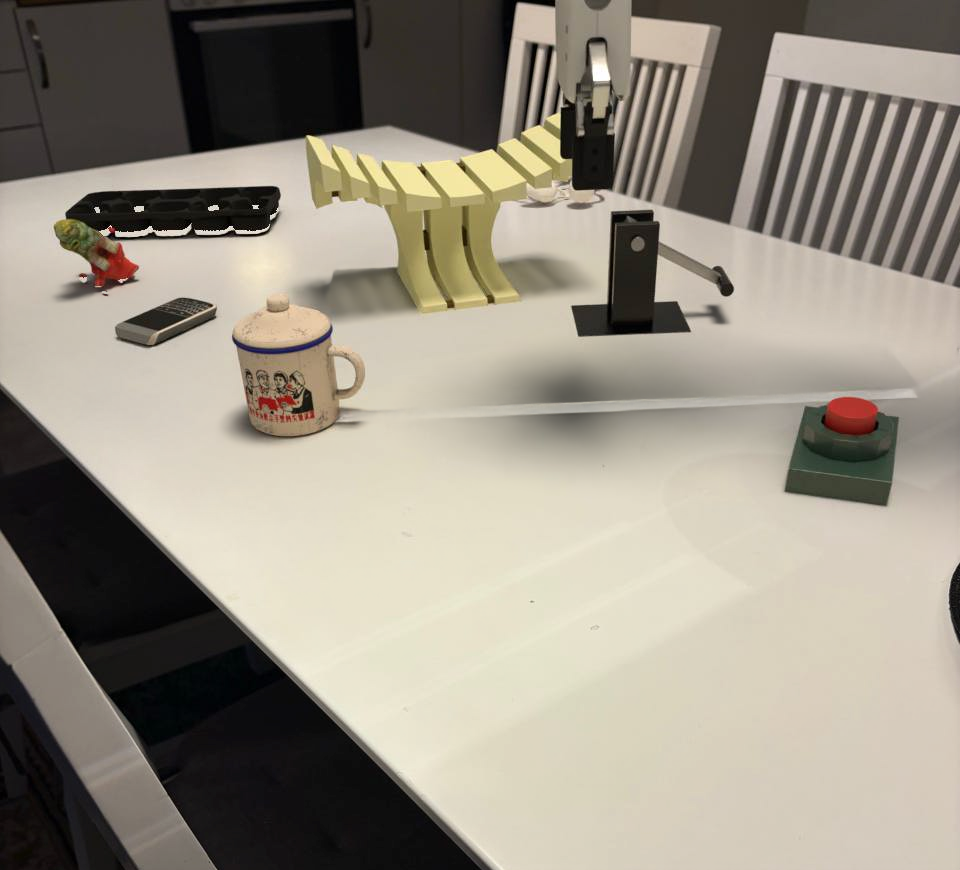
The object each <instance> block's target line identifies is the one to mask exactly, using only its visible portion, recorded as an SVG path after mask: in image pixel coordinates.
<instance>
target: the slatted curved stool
mask: <svg viewBox="0 0 960 870" xmlns="http://www.w3.org/2000/svg"><path fill="white" fill-rule="evenodd" d="M560 117H561V111H560V112H557V113H554V114H552V115H550V116H548V117H546V118H544V122H543V125H542V126H541V125H540V124H538V125H535V126H533V127H531V128H528V129H527V130H524V131H521V133H520V139H519V140H518V139H517V138H511V139H509V140H506V141H504V142H501V143H499V144H498V145H497V152H496V151H495V150H494V149H493V148H491V149H487V150H484V151H481V152H477V153H474V154H471V155H465V156H461V157H459V162H455V161H454V159H446V160H437V161H423V162H420V166H417V165H416V164H415V163H414V162H412V161H411V162H410V161H397V160H396V161H394V160H386V159H382V160H381V165H379V163H378V162H377V160H376V159H375V157H374V156H371V155H366V154H363V153H356V160H355V158H354V157H353V156H352V155H353V154H352V153H351V152H350V151H349V149H347V148H344V147H341V146H337V145H334V144H331V153H330V151H329V149H328V147H327V146H326V144H325V142H324V140H323V139H321V138H318V137H315V136H313V135H305V152H306V153H305V154H306V161H307V169H308V170H307V171H308V178H309V185H310V186H309V187H310V192H311V193H310V194H311V200H312V202H313V204H314V206H315V209H316V210H318V209H320V208H322V207H325V206H329V205H332V204H333V198H338V199H339V201H340V203H345V202H356V201H358V199H364V201H365V203H367V204H372V205H375V206H378V207H379V208H381V209H383V206H384V210H385V212H386V214H387V216H388V219H389V221H390V224H391V226H392V229H393V231H394V235H395V239H396V243H397V253H398V256H397V257H398V260H397V268H396V273H397V274H398V276H399V277H400V280H401V281H402V283H403V285H404V287H405V288H406V290H407V292H408V293H409V295H410V297H411V299H412V301H413V302H414V305H415V306H416V308H417V309H418V311H419V313H420V315H423V314H432V313H440V312H447V311H448V309H449V310H450V309H455V310H462V309H472V308H480V307H487V306H488V305H489V304H494V305H502V304H511V303H518V302H522V299H521V298H520V294H518V292H517V290H515V289H514V287H513V286H512V284H511V283H510V281H509V280H508V279H507V278H506V276H505V274H504V273H503V272H502V270H501V268H500V266H499V264H498V262H497V260H496V258H495V255H494V251H493V246H492V235H493V230H494V225H495V221H496V219H497V215H498V213H499V210H500V209H501V203H504V202H514V201H522V200H524V201H525V200H527V199H528V198H527V196H528V195H527V183H528V184H529V185H531V186H532V187H533V188H534V189H541V188H550V187H552V181H556V182H563V183H568V182H569V180H568V176H572V159H562V157H561V155H560ZM434 279H435V280H436V281H435V280H434ZM476 280H477V281H476ZM436 282H437V283H438V285H439V287H440V288H441V289H442V291H443V293H444V295H445V296H446V297H447V300H445V298H444V296H443V295H442V293H441V291H440V290H439V288H438V286H437V283H436ZM478 283H479V285H480V286H481V287H482V288H483V289H484V291H485V292H486V294H487V295H485V293H484V292H483V290H482V288H481V287H480V286H479V285H478Z"/></svg>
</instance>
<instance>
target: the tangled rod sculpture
mask: <svg viewBox="0 0 960 870" xmlns="http://www.w3.org/2000/svg"><path fill="white" fill-rule="evenodd" d="M568 181H570V182H569V184H568V193H566V191H565V190H564V189H561V188H559V187H558V186H557V185H556V184H555V181H554V180H552V187H550V188H541V189H534V188H533V187H532V186H531V185H529V184H528V183H527V196H528V197H530V198H534V199H535V200H537V201H539V202H541V203H550V202H553V200H554V199H555V198H556V196H557V193H559V196H563V197H564V199H565V200H569V199H570V198H571V200H573V202H575V203H577V204H584V203H587V202H589V201H590V200H591V199H593V196H594V194H595V191H596V190H581V191H576V190H574V189H573V187H572V176H568ZM603 190H606V189H603ZM603 190H602V191H603Z"/></svg>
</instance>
